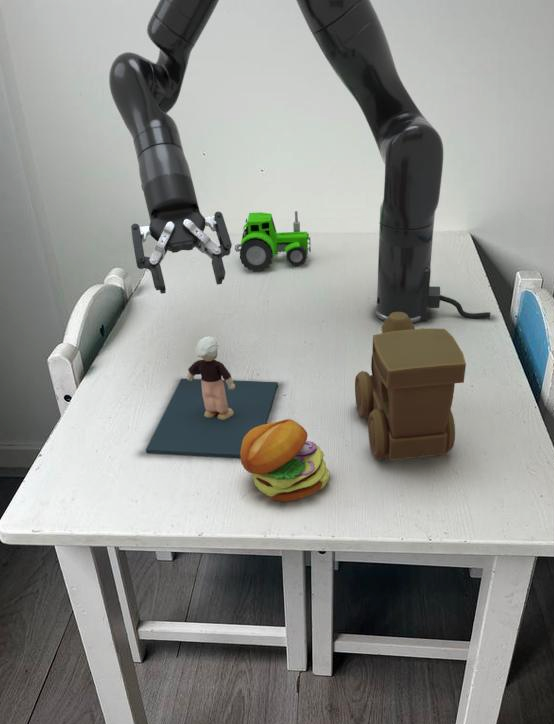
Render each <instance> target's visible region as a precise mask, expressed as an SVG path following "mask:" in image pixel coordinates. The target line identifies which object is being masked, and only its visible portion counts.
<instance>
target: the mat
mask: <svg viewBox="0 0 554 724" xmlns="http://www.w3.org/2000/svg"><path fill="white" fill-rule="evenodd" d="M222 380H223V383H224V387H225V394H226V399H227V404H228V408H231V409H232V410H233V412H234V414H233V415H232V416H231V417H229V418H227V419H225V420H221V419H218V414H219V412H218V413H217V414H216V415H215V416H214V417H212V418H207V417H205V416H204V414H205V412H206V409H205V405H204V400H203V395H202V383H201V378H194V379H193V380H192V381H189V380H188V379H187V378H180V380H179V382H178V385H177V387H176V389H175V391H174V393H173V395H172V397H171V399H170V401H169V402H168V405H167V407H166V408H165V410H164V412H163V414H162V417H161V419H160V421H158V424H157V426H156V429H155V430H154V432H153V434H152V437H151V438H150V440H149V442H148V444H147V446H146V448H145V453H146V454H162V455H178V456H179V455H180V456H196V457H197V456H198V457H199V456H201V457H215V458H232V459H233V458H235V459H241V455H240V452H241V446H242V441H243V439H244V437H245V436H246V434H247V433H248V432H249V431H250V430H252V429H253V428H255V427H258V426H261V425H264V424H268V423H267V422H268V419H269V416H270V412H271V409H272V406H273V403H274V399H275V396H276V393H277V389H278V385H279V383H278V381H261V380H260V381H259V380H258V381H256V380H234V379H232V380H233V383H234V384H235V389H233V390H230V389H229V388H228V385H227V384H226V381H225V380H224V379H222Z"/></svg>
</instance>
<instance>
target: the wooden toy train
mask: <svg viewBox="0 0 554 724" xmlns="http://www.w3.org/2000/svg"><path fill="white" fill-rule="evenodd" d="M370 358H371V359H370V361H371V362H370V363H371V364H370V370H371V374H370V373H369V372H367V371H365V370H361V371H359V372H358V373H357V374H356V376H355V378H354V395H355V396H354V397H355V405H356V410H357V413H358V415H359V417H361V418H363V419H365V420H367V419H368V421H367V430H368V431H367V432H368V442H369V448H370V451H371V454H372V456H373V457H374V458H375V459H376V460H380V461H382V460H385V459H386V458H387V457H388V458H389V460H390V461H393V460H394V461H395V460H404V459H405V460H406V459H414V458H424V457H425V458H426V457H434V456H435V457H436V456H442V455H443V456H444V455H446V454H447V453H449V452H450V451H451V450H453V447H454V445H455V441H456V425H455V419H454V414H453V411H452V405H453V400H454V393H455V386H456V385H455V384H463V383H465V376H466V368H467V367H466V366H467V363H466V358H465V356H464V353H463V350H462V349H461V347H460V346H459V344H458V342H457V341H456V339H455V338H454V336H453V335H452V334H451V333H450V332H449V331H448V330H447V329H445V328H427V327H426V328H425V327H424V328H423V327H422V328H416V327H415V323H412V321H411V320H410V318H409V317H408V315H407V314H405V313H403V312H393V313H391V314H390V315H389V316H388V318H387V319H386V321H383V323H382V325H381V333H377V334H373V335H372V354H371V357H370Z"/></svg>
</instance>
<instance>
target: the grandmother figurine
mask: <svg viewBox="0 0 554 724" xmlns="http://www.w3.org/2000/svg"><path fill="white" fill-rule="evenodd" d="M218 350H219V344H218V340H217V339H216V338H215V337H213V336H210V335H208V336H204V337H202V338H201V339H200V340H199V341H198V343H197V345H196V347H195V351H194V353H195V356H197V357H199V358H201V359H198V360H196V361H194V362H193V363H192V364H191V365H190V366H189V367H188V369H187V370H188V373H187V374H188V375H186V379H188V380H189V381H192V380H193V379H195V377H196V376H197V375H200V376H201V377H200V379H201V383H202V395H203V400H204V405H205V409H206V412H205V414H204V416H205V417H207V418H212V417H214V416H215V415H216V414H217V413H218V412H219V414H218V419H221V420H225V419H227V418H229V417H231V416H232V415H233V414H234V412H233V410H232V409H231V408H228V404H227V399H226V394H225V387H224V383H223V380H225V381H226V384H227V385H228V388H229V389H230V390H233V389H235V384H234V383H233V380H234V379H233V378H232V375H231V373H230V372H229V370H228V369H227V367H226V366H225V364H224V363H223V362H221V361H218V360H217V357H218Z"/></svg>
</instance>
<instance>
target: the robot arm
mask: <svg viewBox="0 0 554 724" xmlns="http://www.w3.org/2000/svg"><path fill="white" fill-rule="evenodd" d="M295 1H296V3H297V5H298V8H299V10H300V12H301V14H302V17H303V18H304V22H306V24H307V27H308V29H309V32H311V35H312V37H313V38H314V40H315V42H316V43H317V45H318V47H319V49H320V51H321V53H322V54H323V56H324V58H325V59H326V61H327V62H328V64H329V65H330V67H331V68H332V70H333V72H334V73H335V74H336V76H337V78H338V79H339V81H340V82H341V83H342V84H343V85H344V87H345V89H347V91H348V92H349V93H350V95H351V96H352V97H353V99H354V100H355V102H356V103H357V105H358V106H359V108H360V109H361V111H362V113H363V116H364V117H365V120H366V122H367V124H368V127H369V129H370V131H371V135H372V136H373V138H374V141H375V144H376V147H377V148H378V151H379V156H380V157H381V161H382V162H383V164H384V185H383V198H382V202H381V204H380V208H379V228H378V229H379V231H378V259H377V260H378V261H377V286H376V287H377V290H376V306H375V315H376V316H377V318H378V319H380V320H382V321H383V322H385V321H386V319H387V318H388V316H389V315H390V314H391V313H393V312H403V313H405V314H407V315H408V317H409V318H410V320H411V321H412V323H413V324H415V323H418V322H426V321H427V320H428V310H429V309H440V303H441V302H443V303H448V304H450V305H452V306H454V307H455V308H456V310H457V312H458V314H459V315H460V316H462V317H463V318H467V319H483V318H491V312H489V311H488V312H487V311H486V312H478V313H477V312H475V313H470V312H467V311H465V310H464V308H463V306H462V303H460V302H458V301H457V300H456V299H453V298H452V297H448V296H445V295H442V294H441V286H435V285H434V286H433V285H431V286H430V284H431V272H432V265H431V263H432V253H433V241H434V240H433V239H434V226H435V216H436V211H437V209H438V206H439V202H440V197H441V196H440V195H441V187H442V178H443V168H444V144H443V140H442V137H441V135H440V134H439V132H438V131H437V130H436V128H435V127H434V126H433V125H432V124H431V123H430V121H428V119H426V117H425V116H424V114H423V113H422V112H421V110H420V109H419V108H418V106H417V105H416V103H415V102H414V100H413V99H412V97H411V95H410V93H409V92H408V90H407V88H406V86H405V85H404V83H403V82H402V80H401V78H400V75H399V72H398V71H397V68H396V64H395V60H394V58H393V54H392V51H391V47H390V44H389V41H388V39H387V35H386V34H385V30H384V28H383V25H382V23H381V20H380V19H379V16H378V14H377V12H376V9H375V8H374V5H373V3H372V2H371V0H295ZM219 2H220V0H159V1H158V3H157V5H156V7H155V9H154V11H153V12H152V15H151V16H150V18H149V20H148V23H147V27H146V33H147V36H148V38H149V40H150V41H151V43H153V45H155V47H157V48H158V50H159V53H158V57H157V60H156V62H154V61H152V60H150V59H148V58H146V57H145V56H142V55H140V54H139V53H135V52H131V51H129V52H128V51H127V52H126V51H125V52H122V53H120V54H119V55H118V56H116V57H115V58H114V60H113V62H112V64H111V66H110V70H109V75H108V77H109V78H108V83H109V90H110V95H111V97H112V100H113V102H114V105H115V107H116V109H117V111H118V114H120V117H121V119H122V120H123V123H124V125H125V127H126V129H127V130H128V132H129V134H130V136H131V138H132V141H133V146H134V149H135V154H136V159H137V163H138V171H139V179H140V183H141V185H140V186H141V190H142V192H143V196H144V200H145V204H146V208H147V213H148V217H149V222H150V223H149V225H143V226H141V225H139V224H138V223H132V225H131V226H130V230H131V238H132V239H131V240H132V245H133V251H134V255H135V256H134V257H135V262H136V263H135V264H136V268H137V269H139V270H143V269H146V270H149V271H150V273H151V279H152V282H153V286H154V289H155V290H156V291H159V292H160V294H161V295H162V294H163V295H164V294H166V292H167V289H166V284H165V280H164V275H163V272H162V266H161V263H162V261H163V260H164V259H165V257H166V255H167V253H168V252H171V253H172V254H174V253H179V252H181V251H193V249H194V248H196V249H197V250H198V251H200V252H201V253H202V254H205V255H206V256H207V257H208V258H209V259H210V260H211V266H212V270H213V275H214V278H215V279H214V280H215V283H216V285H217V286H219V285H222V284H223V281H224V280H225V277H226V269H225V265H224V261H223V258H224V257H225V256H226V257H227V256H229V255H230V254H231V249H232V246H233V244H232V240H231V237H230V235H229V230H228V228H227V224H226V222H225V221H226V220H225V218H224V215H223V213H222V212H221V211H216V212H215V213H214V215H209V216H203V214H202V213H201V211H200V207H199V203H198V198H197V195H196V190H195V186H194V183H193V182H194V181H193V178H192V174H191V169H190V166H189V163H188V160H187V158H186V154H185V152H184V148H183V144H182V140H181V136H180V133H179V129H178V128H179V127H178V126H177V123H176V121H175V120H174V118H173V117H172V116H170V115H169V114H168V113H169V112H170V111H171V110H172V109H173V108H174V106H175V105H176V104H177V102H178V100H179V97H180V94H181V92H182V91H181V90H182V87H183V82H184V78H185V75H186V72H187V68H188V65H189V61H190V57H191V53H192V51H193V49H194V48H195V47H196V44H197V42H198V40H199V39H200V37H201V36H202V34H203V32H204V31H205V29H206V27H207V25H208V23H209V21H210V19H211V17H212V16H213V14H214V12H215V9H216V7H217V6H218V4H219ZM206 227H209V228H210V230H211V231H212V232H215V233H216V236H217V241H218V243H219V245H217V244H216V243H214V241H212V240H211V237H210V236H208V235H207V234H206V233H205V232H204V231H205V229H206ZM148 236H151V238H153V239H154V240H155V241H156V244H155V247H154V250H153V251H152V254H151V256H145V250H144V246H143V243H145V242H146V241H147V237H148Z"/></svg>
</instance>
